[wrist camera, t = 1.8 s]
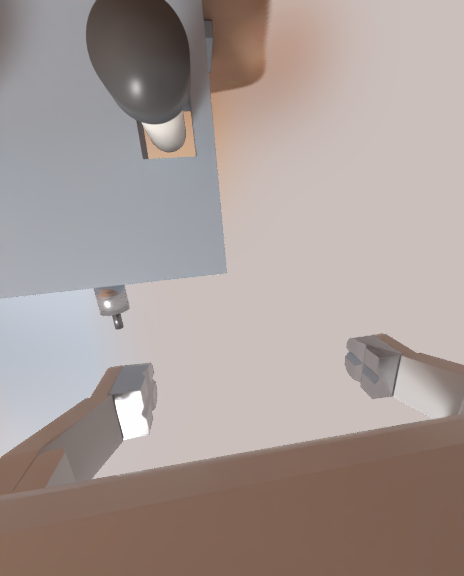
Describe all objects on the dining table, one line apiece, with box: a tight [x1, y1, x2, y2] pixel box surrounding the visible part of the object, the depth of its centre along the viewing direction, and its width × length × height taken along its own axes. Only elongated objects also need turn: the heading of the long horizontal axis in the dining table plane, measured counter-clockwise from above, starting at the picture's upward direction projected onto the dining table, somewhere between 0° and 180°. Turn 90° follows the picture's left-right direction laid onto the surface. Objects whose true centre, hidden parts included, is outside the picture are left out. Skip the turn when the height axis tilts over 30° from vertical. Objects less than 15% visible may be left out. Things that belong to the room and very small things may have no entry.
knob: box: [86, 0, 191, 152], centre depth 15 cm, size 10×5×5 cm, turn 172°
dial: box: [94, 285, 129, 329], centre depth 24 cm, size 3×3×5 cm
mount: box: [0, 0, 227, 298], centre depth 23 cm, size 8×26×22 cm, turn 82°
